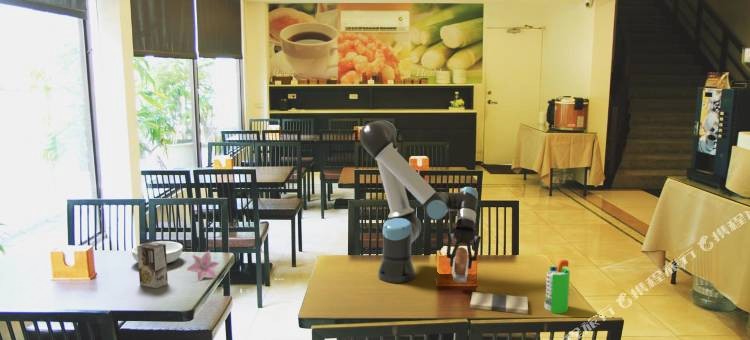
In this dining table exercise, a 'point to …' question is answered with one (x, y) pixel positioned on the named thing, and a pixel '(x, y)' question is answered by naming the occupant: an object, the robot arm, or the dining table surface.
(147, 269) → the coffee box
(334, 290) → the dining table surface
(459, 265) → the brown rounded cylinder
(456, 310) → the dining table surface
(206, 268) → the lily
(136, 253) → the serving bowl
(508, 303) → the subfloor panel
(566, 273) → the green lighter
